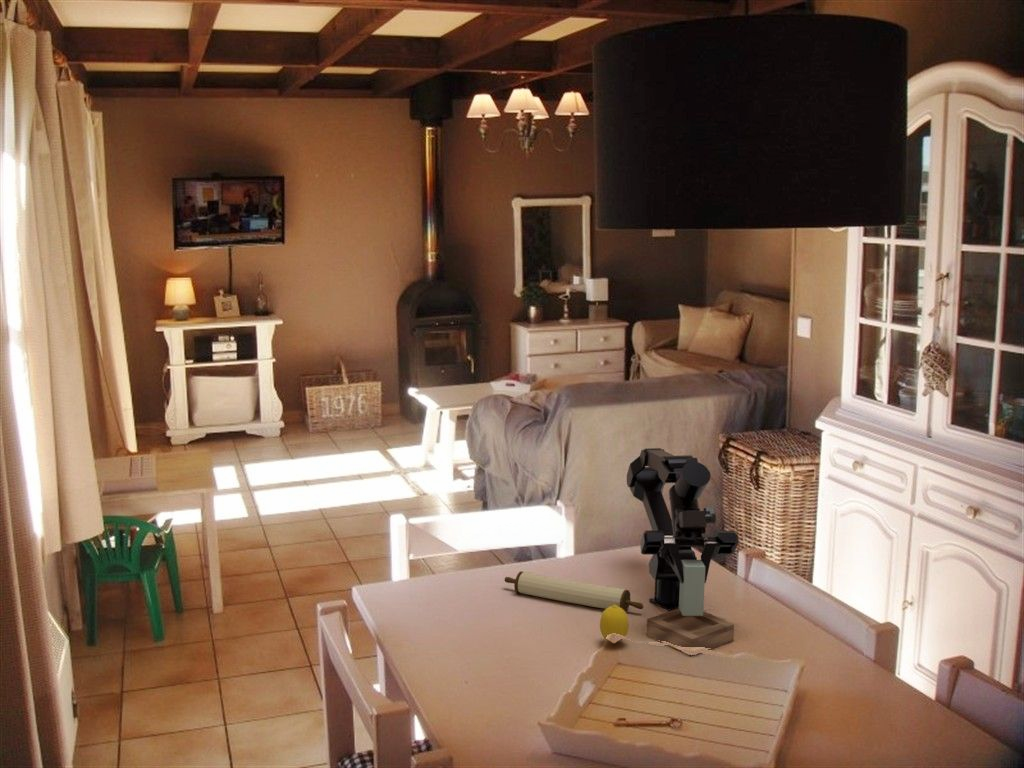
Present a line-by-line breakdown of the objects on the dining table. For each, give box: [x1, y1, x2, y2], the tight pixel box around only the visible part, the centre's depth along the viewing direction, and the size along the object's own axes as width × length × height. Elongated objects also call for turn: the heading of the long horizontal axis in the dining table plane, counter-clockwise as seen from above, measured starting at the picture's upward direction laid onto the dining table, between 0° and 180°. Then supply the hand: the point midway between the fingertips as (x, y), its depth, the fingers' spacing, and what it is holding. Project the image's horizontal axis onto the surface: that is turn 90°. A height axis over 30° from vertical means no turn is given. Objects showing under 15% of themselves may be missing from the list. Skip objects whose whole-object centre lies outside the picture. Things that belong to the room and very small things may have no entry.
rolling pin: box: [504, 571, 644, 613], centre depth 223 cm, size 32×6×5 cm, turn 64°
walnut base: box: [646, 608, 735, 650], centre depth 205 cm, size 12×12×4 cm
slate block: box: [678, 559, 706, 616], centre depth 203 cm, size 4×4×10 cm
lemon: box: [599, 605, 630, 640], centre depth 202 cm, size 6×6×8 cm
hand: (693, 582), depth 202 cm, fingers closed on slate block, 4 cm apart
